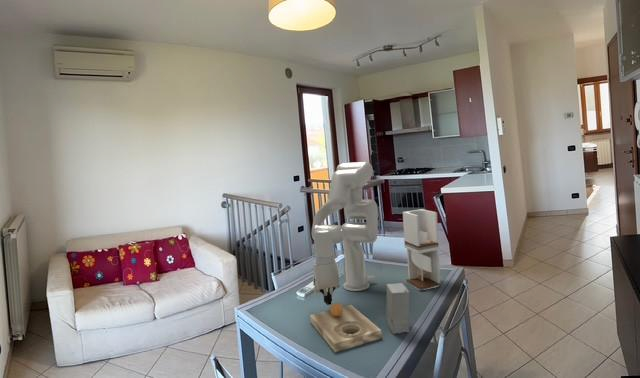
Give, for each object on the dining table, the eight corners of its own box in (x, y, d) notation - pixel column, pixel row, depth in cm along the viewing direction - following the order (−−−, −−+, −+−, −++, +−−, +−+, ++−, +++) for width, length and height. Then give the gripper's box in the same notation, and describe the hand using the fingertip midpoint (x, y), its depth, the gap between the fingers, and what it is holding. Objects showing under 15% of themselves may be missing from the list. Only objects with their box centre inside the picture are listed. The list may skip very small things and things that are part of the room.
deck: (351, 311, 150) (351, 304, 150) (381, 338, 128) (381, 330, 128) (310, 322, 144) (310, 315, 144) (335, 352, 122) (334, 343, 121)
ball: (340, 311, 144) (339, 299, 144) (345, 316, 140) (344, 304, 139) (328, 314, 143) (327, 302, 142) (333, 320, 138) (332, 307, 137)
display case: (406, 283, 175) (402, 212, 171) (425, 279, 178) (422, 209, 174) (420, 291, 164) (416, 215, 160) (440, 287, 168) (436, 212, 164)
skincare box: (386, 323, 138) (383, 283, 136) (404, 321, 138) (402, 281, 137) (392, 335, 130) (390, 292, 128) (412, 332, 130) (409, 290, 128)
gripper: (338, 254, 152) (341, 296, 154) (304, 260, 147) (307, 304, 149) (345, 258, 145) (348, 303, 147) (310, 265, 140) (314, 311, 142)
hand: (328, 303), depth 148 cm, fingers closed
